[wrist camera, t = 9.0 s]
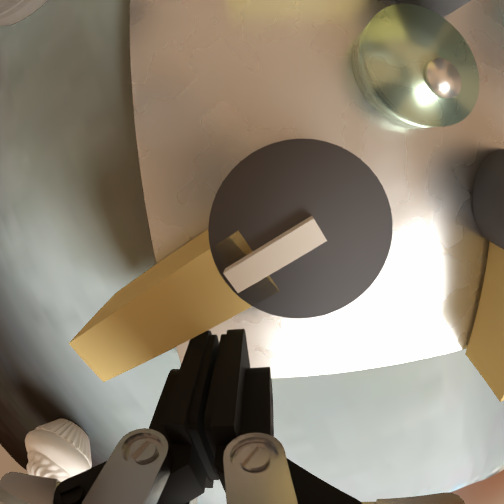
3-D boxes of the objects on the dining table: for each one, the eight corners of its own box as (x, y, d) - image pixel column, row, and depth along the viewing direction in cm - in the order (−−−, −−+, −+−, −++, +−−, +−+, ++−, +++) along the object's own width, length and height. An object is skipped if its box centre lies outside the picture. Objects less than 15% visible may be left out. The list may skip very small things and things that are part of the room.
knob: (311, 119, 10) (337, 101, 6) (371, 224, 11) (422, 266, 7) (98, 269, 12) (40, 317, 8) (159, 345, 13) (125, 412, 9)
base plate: (144, -50, 8) (117, -84, 5) (495, -26, 7) (526, -44, 3) (192, 361, 15) (175, 408, 12) (513, 318, 14) (544, 347, 10)
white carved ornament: (34, 408, 19) (-3, 459, 13) (67, 401, 18) (26, 466, 11) (78, 453, 21) (51, 505, 14) (118, 452, 20) (91, 515, 13)
